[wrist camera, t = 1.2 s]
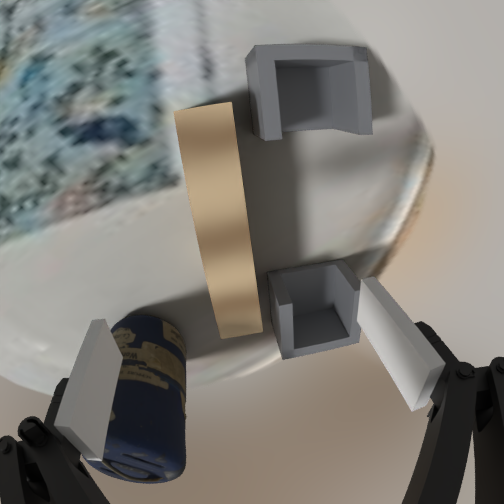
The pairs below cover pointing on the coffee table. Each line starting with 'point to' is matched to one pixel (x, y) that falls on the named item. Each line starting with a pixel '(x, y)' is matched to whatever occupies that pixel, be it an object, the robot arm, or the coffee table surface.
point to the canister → (147, 404)
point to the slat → (220, 215)
